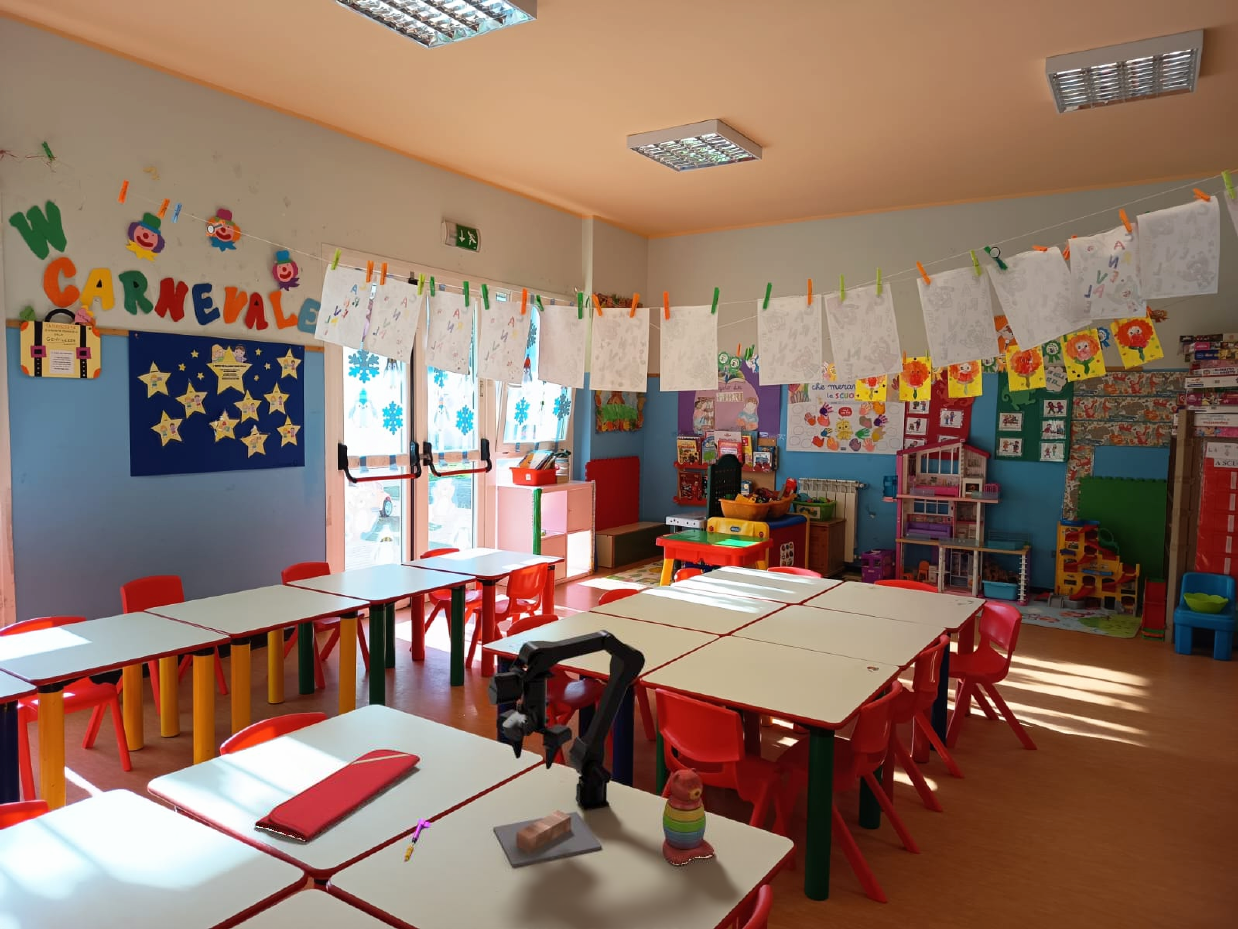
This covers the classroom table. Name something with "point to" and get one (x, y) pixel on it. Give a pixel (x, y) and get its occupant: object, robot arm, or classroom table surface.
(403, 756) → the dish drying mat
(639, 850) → the classroom table surface
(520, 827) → the charcoal mat
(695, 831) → the stacking bear
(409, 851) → the pink dart
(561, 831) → the terracotta block
